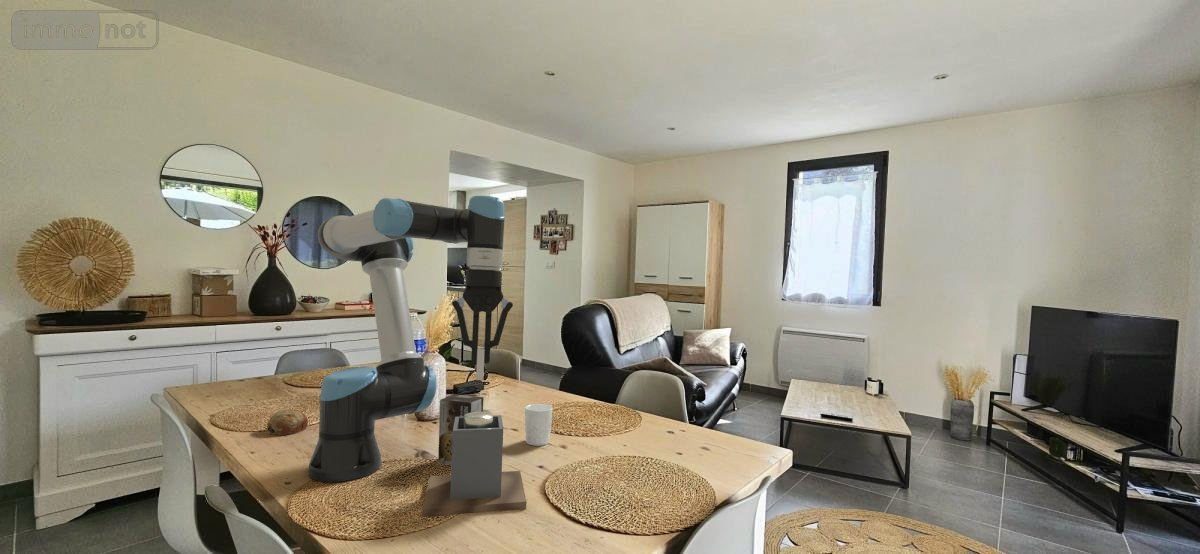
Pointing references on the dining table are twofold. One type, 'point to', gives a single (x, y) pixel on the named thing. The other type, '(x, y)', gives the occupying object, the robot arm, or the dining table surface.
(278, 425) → the brown rounded lump
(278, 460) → the dining table surface
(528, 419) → the white cup
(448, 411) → the coffee box
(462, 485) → the box
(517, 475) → the base
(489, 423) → the plunger
